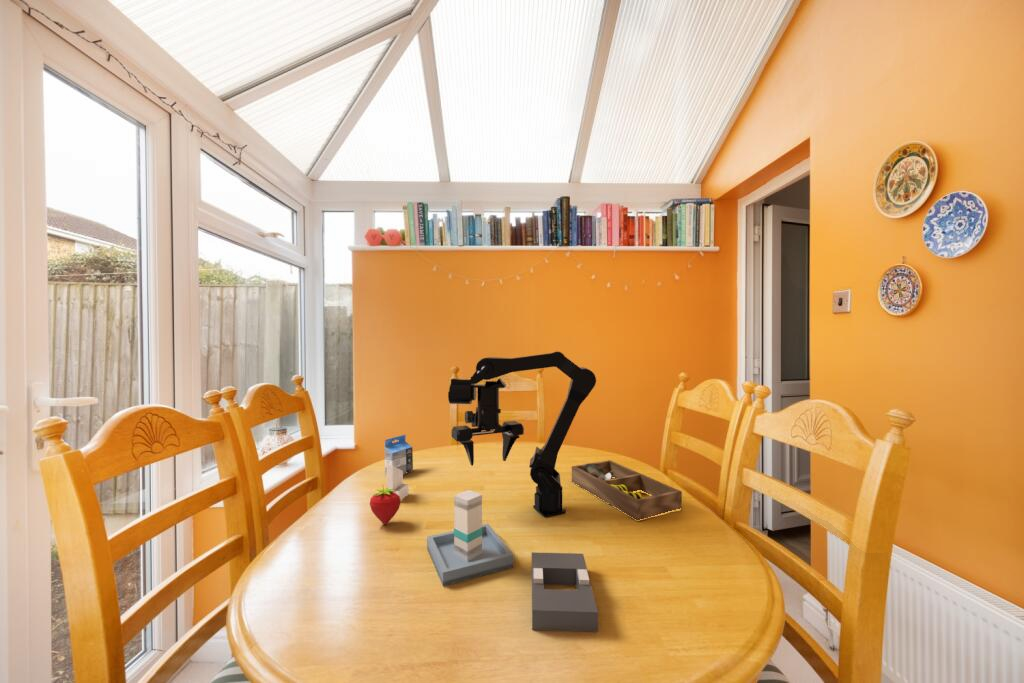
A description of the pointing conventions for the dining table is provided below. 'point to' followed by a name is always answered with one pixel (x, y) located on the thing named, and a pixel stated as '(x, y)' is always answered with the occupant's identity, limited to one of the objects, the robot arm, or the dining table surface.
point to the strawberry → (385, 504)
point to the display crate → (629, 490)
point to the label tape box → (398, 454)
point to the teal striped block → (467, 525)
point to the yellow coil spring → (624, 489)
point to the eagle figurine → (597, 472)
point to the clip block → (562, 594)
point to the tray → (459, 570)
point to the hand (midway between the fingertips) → (488, 462)
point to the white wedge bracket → (397, 481)
